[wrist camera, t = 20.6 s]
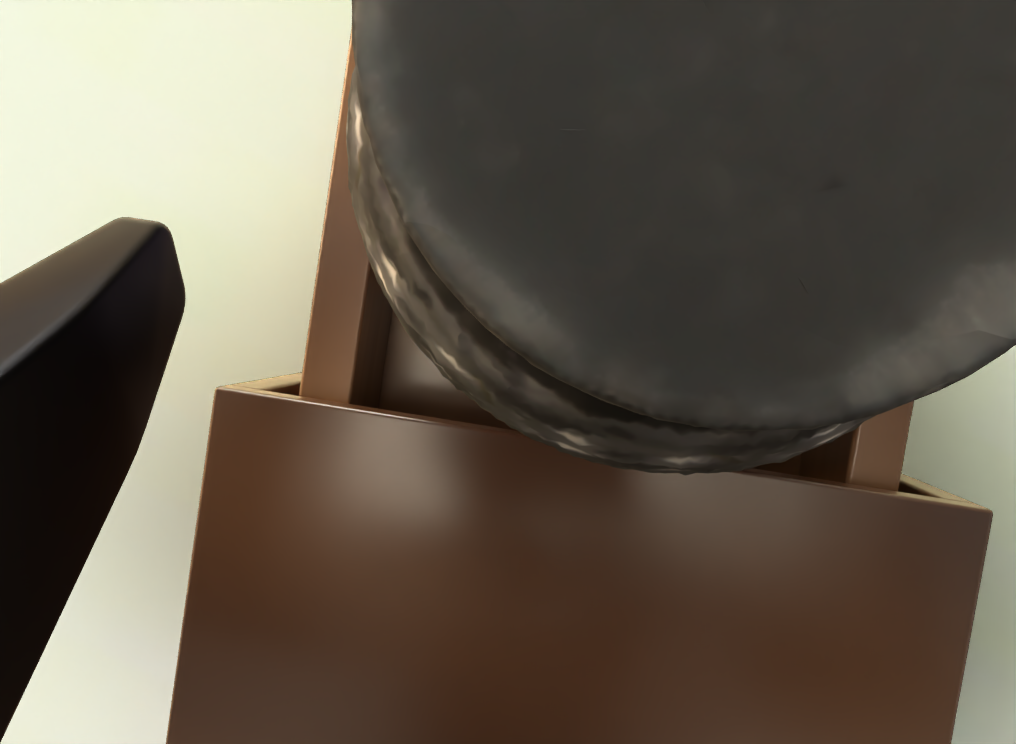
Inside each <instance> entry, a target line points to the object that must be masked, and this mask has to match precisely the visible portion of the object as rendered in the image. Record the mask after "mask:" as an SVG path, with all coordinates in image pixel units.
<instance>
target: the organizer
mask: <svg viewBox="0 0 1016 744" xmlns="http://www.w3.org/2000/svg"><path fill="white" fill-rule="evenodd" d="M301 377H302V372H301V373H295V374H289V375H284V376H278V377H272V378H266V379H260V380H254V381H248V382H242V383H237V384H231V385H225V386H219V387H216V389H215V393H214V400H213V407H212V415H211V422H210V429H209V436H208V443H207V451H206V458H205V465H204V472H203V479H202V487H201V494H200V501H199V508H198V515H197V523H196V530H195V537H194V544H193V551H192V559H191V566H190V573H189V580H188V587H187V595H186V602H185V609H184V616H183V623H182V631H181V638H180V645H179V652H178V659H177V667H176V674H175V681H174V688H173V695H172V703H171V710H170V717H169V724H168V731H167V739H166V744H951V740H952V735H953V729H954V724H955V718H956V713H957V707H958V702H959V697H960V691H961V686H962V680H963V675H964V669H965V664H966V658H967V653H968V648H969V642H970V637H971V631H972V626H973V620H974V615H975V609H976V604H977V599H978V593H979V588H980V582H981V577H982V571H983V566H984V561H985V555H986V550H987V544H988V539H989V533H990V528H991V522H992V517H993V512H992V511H991V510H990V509H987V508H985V507H982V506H980V505H978V504H974V503H973V502H970V501H968V500H965V499H963V498H960V497H958V496H956V495H953V494H951V493H948V492H946V491H943V490H941V489H938V488H936V487H933V486H931V485H929V484H926V483H924V482H921V481H919V480H916V479H914V478H911V477H909V476H907V475H904V474H902V473H901V477H900V482H899V488H898V491H891V490H885V489H879V488H873V487H866V486H860V485H854V484H847V483H841V482H835V481H829V480H822V479H816V478H810V477H804V476H797V475H791V474H785V473H779V472H772V471H766V470H760V469H753V468H750V469H743V470H742V471H732V472H720V473H708V474H706V473H694V474H690V475H686V476H685V475H682V474H680V473H667V474H663V473H648V472H644V471H639V470H634V469H620V468H614V467H611V466H608V465H604V464H599V463H593V462H590V461H588V460H585V459H583V458H577V457H573V456H572V455H570V454H567V453H563V452H559V451H558V450H557V449H556V448H555V447H552V446H548V445H546V444H544V443H541V442H538V441H535V440H532V439H531V438H529V437H527V436H525V435H524V434H522V433H521V432H519V431H515V430H509V429H503V428H496V427H490V426H484V425H478V424H471V423H465V422H459V421H453V420H446V419H440V418H434V417H428V416H421V415H415V414H409V413H402V412H396V411H390V410H384V409H377V408H371V407H365V406H359V405H352V404H346V403H340V402H333V401H327V400H321V399H315V398H308V397H302V396H299V391H300V384H301Z"/></svg>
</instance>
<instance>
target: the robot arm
mask: <svg viewBox="0 0 1016 744" xmlns="http://www.w3.org/2000/svg"><path fill="white" fill-rule="evenodd" d="M184 307H185V288H184V283H183V279H182V275H181V271H180V266H179V262H178V258H177V254H176V250H175V246H174V242H173V238H172V235H171V232H170V230H169V229H168V227H167V226H165V225H164V224H162V223H160V222H156V221H150V220H143V219H136V218H130V217H121V218H118V219H115V220H113V221H111V222H109V223H107V224H106V225H104V226H102V227H100V228H99V229H97V230H95V231H93V232H91V233H90V234H88V235H86V236H84V237H82V238H81V239H79V240H77V241H75V242H73V243H72V244H70V245H68V246H66V247H65V248H63V249H61V250H59V251H57V252H56V253H54V254H52V255H50V256H48V257H47V258H45V259H43V260H41V261H39V262H38V263H36V264H34V265H32V266H31V267H29V268H27V269H25V270H23V271H22V272H20V273H18V274H16V275H14V276H13V277H11V278H9V279H7V280H5V281H4V282H2V283H0V742H1V740H2V738H3V736H4V734H5V732H6V729H7V727H8V725H9V723H10V721H11V719H12V717H13V715H14V713H15V710H16V708H17V706H18V704H19V702H20V700H21V698H22V696H23V693H24V691H25V689H26V687H27V685H28V683H29V681H30V679H31V677H32V674H33V672H34V670H35V668H36V666H37V664H38V662H39V660H40V657H41V655H42V653H43V651H44V649H45V647H46V645H47V643H48V641H49V638H50V636H51V634H52V632H53V630H54V628H55V626H56V624H57V621H58V619H59V617H60V615H61V613H62V611H63V609H64V607H65V605H66V602H67V600H68V598H69V596H70V594H71V592H72V590H73V588H74V585H75V583H76V581H77V579H78V577H79V575H80V573H81V571H82V569H83V566H84V564H85V562H86V560H87V558H88V556H89V554H90V552H91V549H92V547H93V545H94V543H95V541H96V539H97V537H98V535H99V533H100V530H101V528H102V526H103V524H104V522H105V520H106V518H107V516H108V513H109V511H110V509H111V507H112V505H113V503H114V501H115V499H116V497H117V494H118V492H119V490H120V488H121V486H122V484H123V482H124V480H125V477H126V475H127V473H128V471H129V469H130V466H131V464H132V462H133V460H134V457H135V455H136V453H137V450H138V448H139V445H140V442H141V440H142V437H143V434H144V431H145V428H146V425H147V422H148V419H149V416H150V413H151V410H152V407H153V404H154V401H155V398H156V395H157V392H158V389H159V386H160V383H161V380H162V377H163V374H164V371H165V368H166V365H167V362H168V359H169V356H170V353H171V350H172V347H173V344H174V341H175V338H176V334H177V331H178V328H179V325H180V322H181V319H182V316H183V313H184Z"/></svg>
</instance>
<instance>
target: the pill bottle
mask: <svg viewBox="0 0 1016 744" xmlns="http://www.w3.org/2000/svg"><path fill="white" fill-rule="evenodd" d="M352 46H353V53H354V60H355V68H354V70H353V73H352V77H351V85H350V91H349V96H348V113H347V123H346V145H347V155H348V188H349V190H350V193H351V198H352V206H353V209H354V214H355V218H356V221H357V224H358V227H359V230H360V233H361V235H362V239H363V243H364V246H365V250H366V253H367V256H368V259H369V262H370V264H371V267H372V269H373V271H374V274H375V277H376V280H377V282H378V283H379V285H380V287H381V289H382V291H383V294H384V295H385V297H386V298H387V299H388V302H389V303H390V305H391V307H392V309H393V311H394V313H395V314H396V316H397V317H398V319H399V320H400V323H401V324H402V326H403V327H404V329H405V331H406V332H407V334H408V335H409V337H410V338H411V339H412V341H413V342H414V343H415V344H416V345H417V346H418V348H419V349H420V350H421V351H422V352H423V353H424V354H425V355H426V356H427V357H428V358H429V359H430V360H431V361H432V362H433V363H434V365H435V366H436V367H437V368H438V370H439V371H440V373H441V374H442V376H443V377H445V378H446V379H448V380H449V381H450V382H451V383H452V384H453V385H454V386H455V388H456V389H457V390H460V391H462V392H463V393H465V394H466V395H467V396H468V398H470V399H471V400H473V401H475V402H476V403H477V404H478V405H479V406H480V407H481V408H482V409H484V410H486V411H488V412H490V413H491V414H492V415H493V416H494V417H495V418H496V419H498V420H500V421H503V422H505V423H506V424H507V425H508V426H509V427H510V428H513V429H516V430H518V431H519V432H521V433H522V434H524V435H525V436H527V437H529V438H531V439H532V440H535V441H538V442H541V443H544V444H546V445H548V446H552V447H555V448H556V449H557V450H558V451H559V452H563V453H567V454H570V455H572V456H573V457H577V458H583V459H585V460H588V461H590V462H593V463H599V464H604V465H608V466H611V467H614V468H620V469H634V470H639V471H644V472H648V473H663V474H667V473H680V474H682V475H685V476H686V475H690V474H694V473H706V474H708V473H720V472H732V471H742V470H743V469H750V468H753V467H756V466H759V465H764V464H769V463H782V462H785V461H787V460H788V459H790V458H792V457H794V456H797V455H800V454H801V453H803V452H806V451H808V450H811V449H814V448H816V447H818V446H820V445H822V444H826V443H831V442H833V441H834V440H835V439H837V438H838V437H840V436H841V435H843V434H846V433H848V432H851V431H854V430H855V429H857V428H858V427H859V426H860V425H861V424H862V423H863V422H864V421H866V420H869V419H871V418H873V417H874V416H876V415H878V414H882V413H884V412H887V411H889V410H892V409H894V408H897V407H899V406H902V405H904V404H907V403H909V402H912V401H914V400H917V399H919V398H922V397H924V396H927V395H929V394H932V393H934V392H937V391H939V390H941V389H943V388H945V387H947V386H949V385H951V384H953V383H955V382H957V381H959V380H961V379H963V378H965V377H967V376H969V375H971V374H972V373H974V372H976V371H977V370H979V369H980V368H982V367H983V366H985V365H987V364H988V363H990V362H991V361H993V360H994V359H996V358H998V357H999V356H1001V355H1002V354H1004V353H1005V352H1006V351H1008V350H1009V349H1010V348H1012V347H1013V346H1014V345H1016V0H352Z"/></svg>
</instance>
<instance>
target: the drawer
mask: <svg viewBox="0 0 1016 744" xmlns="http://www.w3.org/2000/svg"><path fill="white" fill-rule="evenodd" d="M354 68H355V60H354V53H353V46H352V29H351V36H350V43H349V50H348V57H347V64H346V71H345V78H344V85H343V92H342V99H341V106H340V113H339V120H338V127H337V134H336V141H335V148H334V155H333V162H332V169H331V176H330V182H329V189H328V196H327V203H326V210H325V217H324V224H323V231H322V238H321V245H320V252H319V259H318V266H317V273H316V280H315V287H314V294H313V301H312V308H311V315H310V322H309V329H308V336H307V343H306V350H305V357H304V364H303V370H302V377H301V384H300V391H299V396H302V397H308V398H315V399H321V400H327V401H333V402H340V403H346V404H352V405H359V406H365V407H371V408H377V409H384V410H390V411H396V412H402V413H409V414H415V415H421V416H428V417H434V418H440V419H446V420H453V421H459V422H465V423H471V424H478V425H484V426H490V427H496V428H503V429H509V430H515V431H518V430H516V429H513V428H510V427H509V426H508V425H507V424H506V423H505V422H503V421H500V420H498V419H496V418H495V417H494V416H493V415H492V414H491V413H490V412H488V411H486V410H484V409H482V408H481V407H480V406H479V405H478V404H477V403H476V402H475V401H473V400H471V399H470V398H468V396H467V395H466V394H465V393H463V392H462V391H460V390H457V389H456V388H455V386H454V385H453V384H452V383H451V382H450V381H449V380H448V379H446V378H445V377H443V376H442V374H441V373H440V371H439V370H438V368H437V367H436V366H435V365H434V363H433V362H432V361H431V360H430V359H429V358H428V357H427V356H426V355H425V354H424V353H423V352H422V351H421V350H420V349H419V348H418V346H417V345H416V344H415V343H414V342H413V341H412V339H411V338H410V337H409V335H408V334H407V332H406V331H405V329H404V327H403V326H402V324H401V323H400V320H399V319H398V317H397V316H396V314H395V313H394V311H393V309H392V307H391V305H390V303H389V302H388V299H387V298H386V297H385V295H384V294H383V291H382V289H381V287H380V285H379V283H378V282H377V280H376V277H375V274H374V271H373V269H372V267H371V264H370V262H369V259H368V256H367V253H366V250H365V246H364V243H363V239H362V235H361V233H360V230H359V227H358V224H357V221H356V218H355V214H354V209H353V206H352V198H351V193H350V190H349V188H348V155H347V145H346V123H347V113H348V96H349V91H350V85H351V77H352V73H353V70H354ZM913 404H914V401H912V402H909V403H907V404H904V405H902V406H899V407H897V408H894V409H892V410H889V411H887V412H884V413H882V414H878V415H876V416H874V417H873V418H871V419H869V420H866V421H864V422H863V423H862V424H861V425H860V426H859V427H858V428H857V429H855V430H854V431H851V432H848V433H846V434H843V435H841V436H840V437H838V438H837V439H835V440H834V441H833V442H831V443H826V444H822V445H820V446H818V447H816V448H814V449H811V450H808V451H806V452H803V453H801V454H800V455H797V456H794V457H792V458H790V459H788V460H787V461H785V462H782V463H769V464H764V465H759V466H756V467H753V469H760V470H766V471H772V472H779V473H785V474H791V475H797V476H804V477H810V478H816V479H822V480H829V481H835V482H841V483H847V484H854V485H860V486H866V487H873V488H879V489H885V490H891V491H898V488H899V482H900V477H901V471H902V465H903V460H904V454H905V449H906V443H907V437H908V432H909V426H910V420H911V415H912V409H913Z"/></svg>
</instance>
